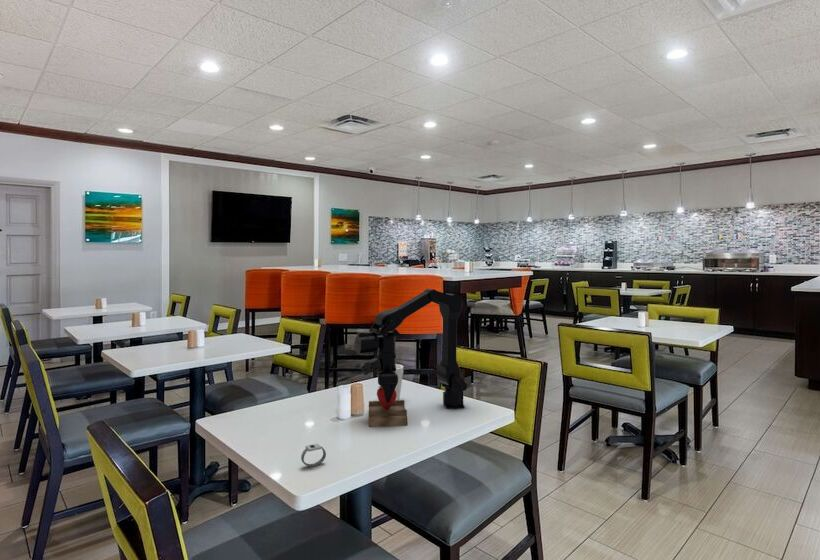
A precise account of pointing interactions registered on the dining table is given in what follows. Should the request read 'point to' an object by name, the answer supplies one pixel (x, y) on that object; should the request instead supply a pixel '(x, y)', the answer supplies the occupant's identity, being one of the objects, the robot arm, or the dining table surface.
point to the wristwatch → (312, 448)
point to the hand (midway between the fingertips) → (387, 398)
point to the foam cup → (399, 380)
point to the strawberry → (382, 398)
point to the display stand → (387, 414)
